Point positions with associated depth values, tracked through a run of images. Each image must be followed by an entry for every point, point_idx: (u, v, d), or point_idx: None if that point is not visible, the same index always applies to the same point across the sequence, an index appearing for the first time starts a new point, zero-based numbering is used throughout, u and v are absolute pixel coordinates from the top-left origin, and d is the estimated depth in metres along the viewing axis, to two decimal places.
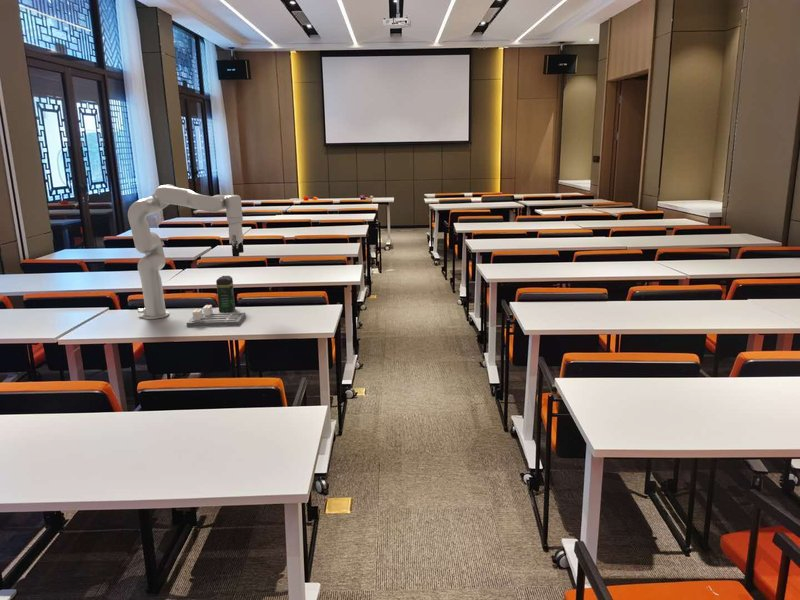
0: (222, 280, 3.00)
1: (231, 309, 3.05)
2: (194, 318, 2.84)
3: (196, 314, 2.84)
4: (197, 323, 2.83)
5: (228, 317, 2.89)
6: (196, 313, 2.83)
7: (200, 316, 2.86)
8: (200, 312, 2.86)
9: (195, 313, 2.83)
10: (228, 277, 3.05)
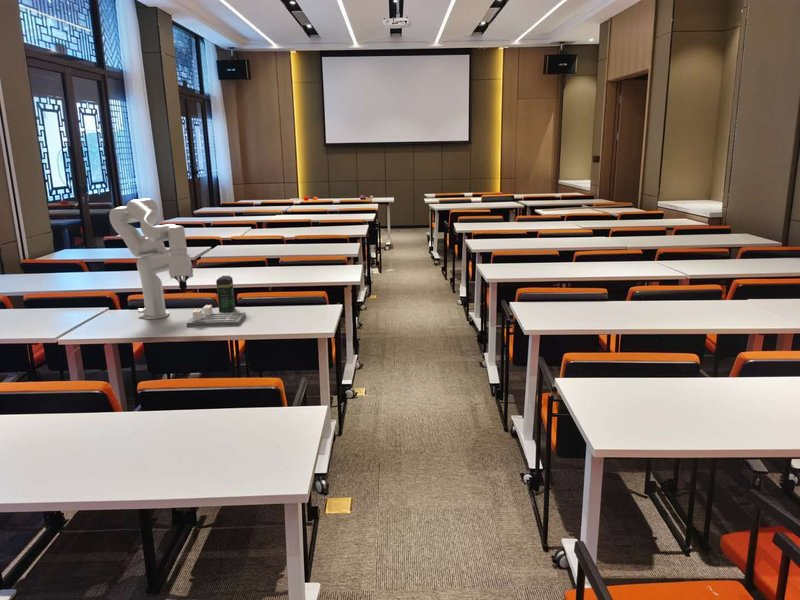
0: (222, 280, 3.00)
1: (231, 309, 3.05)
2: (194, 318, 2.84)
3: (196, 314, 2.84)
4: (197, 323, 2.83)
5: (228, 317, 2.89)
6: (196, 313, 2.83)
7: (200, 316, 2.86)
8: (200, 312, 2.86)
9: (195, 313, 2.83)
10: (228, 277, 3.05)
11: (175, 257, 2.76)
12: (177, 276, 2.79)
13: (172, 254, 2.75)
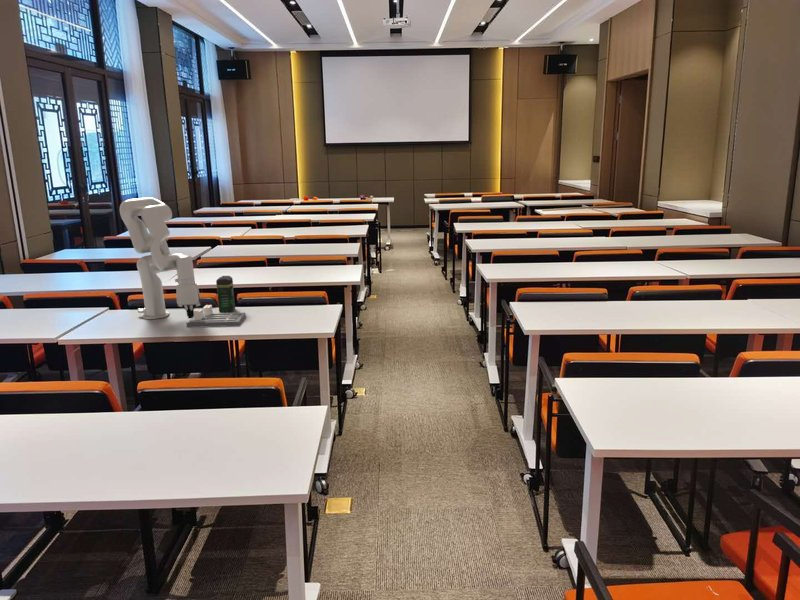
0: (222, 280, 3.00)
1: (231, 309, 3.05)
2: (195, 318, 2.84)
3: (197, 314, 2.84)
4: (197, 323, 2.83)
5: (228, 317, 2.89)
6: (197, 313, 2.83)
7: (201, 316, 2.86)
8: (201, 312, 2.86)
9: (196, 313, 2.83)
10: (228, 277, 3.05)
11: (183, 286, 2.80)
12: (185, 305, 2.83)
13: (180, 283, 2.79)
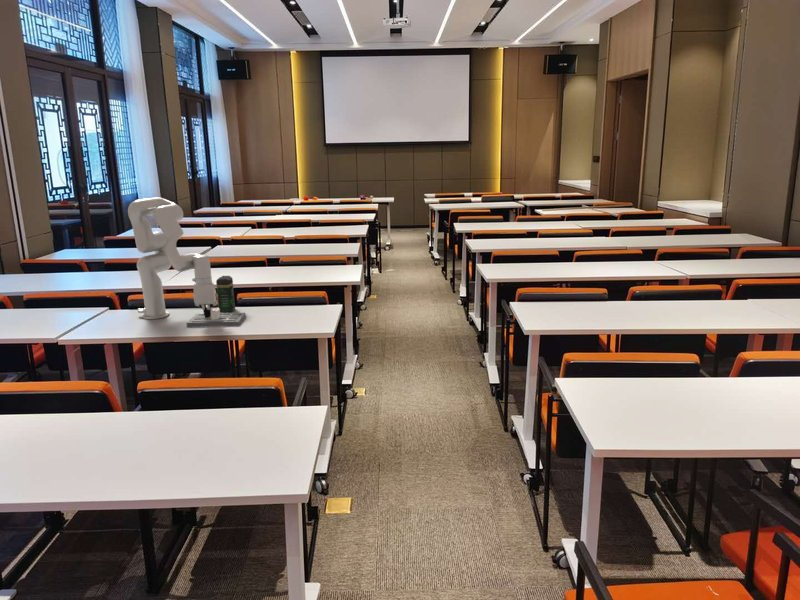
0: (222, 280, 3.00)
1: (231, 309, 3.05)
2: (212, 318, 2.84)
3: (214, 313, 2.84)
4: (197, 323, 2.83)
5: (228, 317, 2.89)
6: (214, 313, 2.84)
7: (218, 316, 2.86)
8: (218, 312, 2.86)
9: (213, 313, 2.84)
10: (228, 277, 3.05)
11: (200, 286, 2.80)
12: None
13: (197, 283, 2.79)
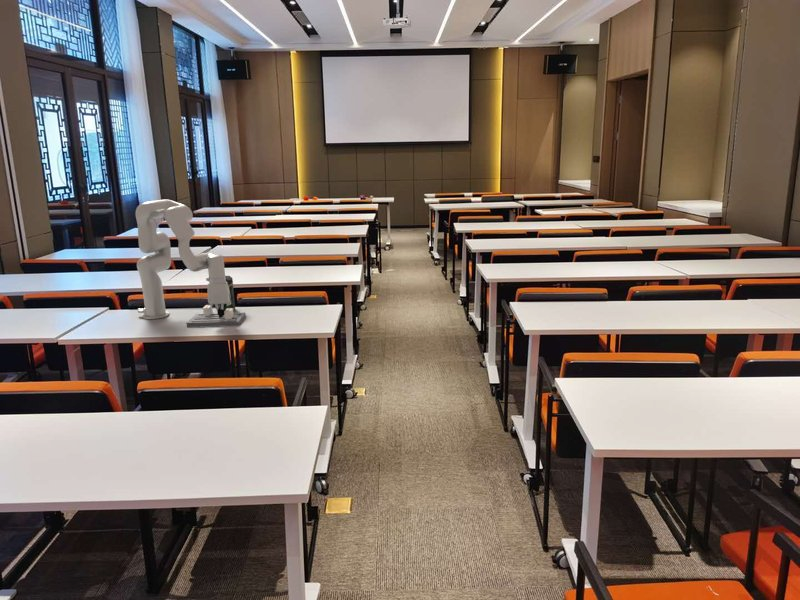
0: None
1: None
2: (226, 317, 2.84)
3: (228, 313, 2.84)
4: (197, 323, 2.83)
5: None
6: (228, 312, 2.84)
7: (232, 315, 2.86)
8: (232, 311, 2.86)
9: (227, 312, 2.84)
10: (228, 277, 3.05)
11: (214, 286, 2.80)
12: (215, 304, 2.84)
13: (211, 283, 2.79)
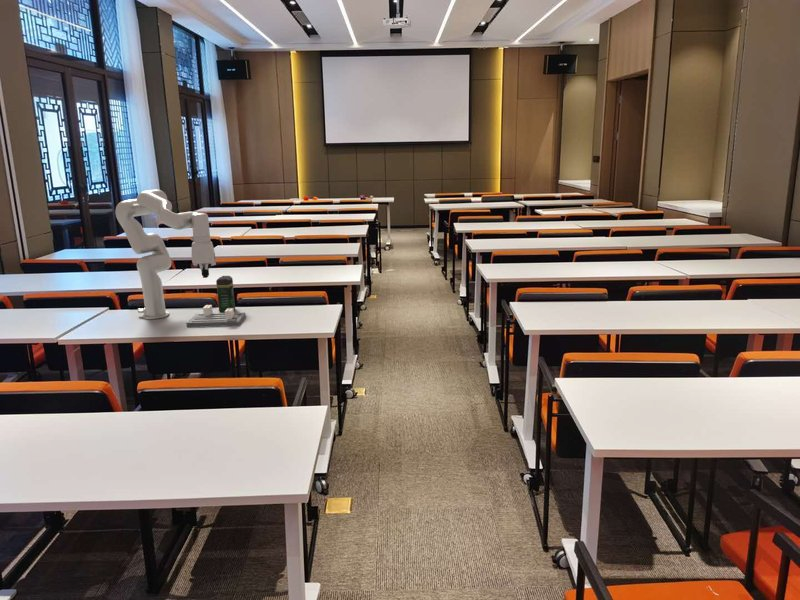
0: (222, 280, 3.00)
1: None
2: (226, 317, 2.85)
3: (228, 313, 2.84)
4: (197, 323, 2.83)
5: None
6: (228, 312, 2.84)
7: (232, 315, 2.86)
8: (232, 311, 2.86)
9: (227, 312, 2.84)
10: (228, 277, 3.05)
11: (198, 245, 2.75)
12: (200, 264, 2.79)
13: (195, 241, 2.74)
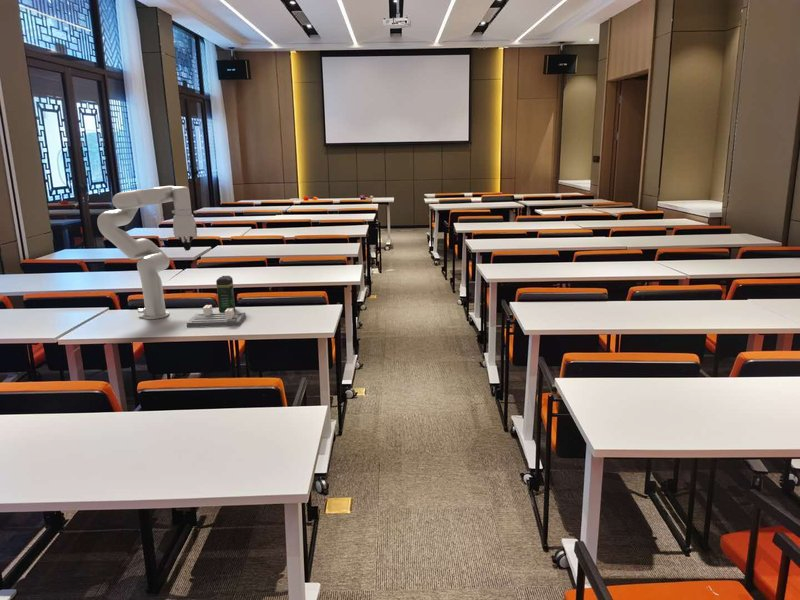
0: (222, 280, 3.00)
1: None
2: (226, 317, 2.85)
3: (228, 313, 2.84)
4: (197, 323, 2.83)
5: None
6: (228, 312, 2.84)
7: (232, 315, 2.86)
8: (232, 311, 2.86)
9: (227, 312, 2.84)
10: (228, 277, 3.05)
11: (180, 217, 2.81)
12: None
13: (177, 214, 2.80)
